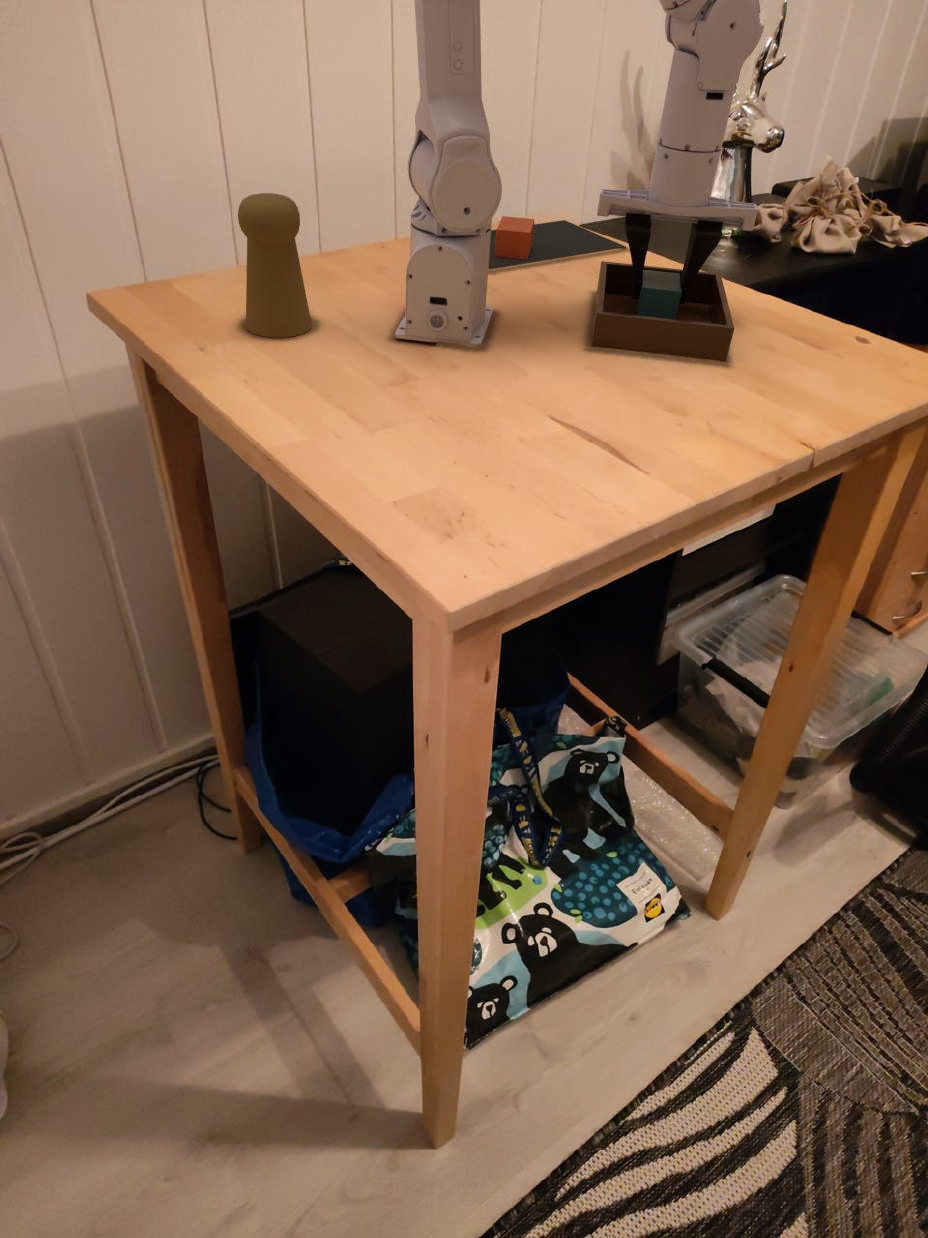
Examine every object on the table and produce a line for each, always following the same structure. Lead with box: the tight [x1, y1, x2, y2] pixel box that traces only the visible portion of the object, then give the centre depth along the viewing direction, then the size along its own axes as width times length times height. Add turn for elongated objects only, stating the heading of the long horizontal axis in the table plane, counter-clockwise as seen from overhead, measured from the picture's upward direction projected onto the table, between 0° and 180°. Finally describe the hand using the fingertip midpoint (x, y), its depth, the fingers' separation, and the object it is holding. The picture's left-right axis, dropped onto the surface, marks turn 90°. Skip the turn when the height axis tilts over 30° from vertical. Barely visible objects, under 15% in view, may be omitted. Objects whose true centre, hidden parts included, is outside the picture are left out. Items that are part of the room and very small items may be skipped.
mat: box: [488, 219, 627, 270], centre depth 100 cm, size 12×20×1 cm, turn 123°
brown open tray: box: [590, 260, 735, 362], centre depth 81 cm, size 15×12×3 cm
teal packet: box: [637, 270, 682, 320], centre depth 83 cm, size 6×4×3 cm
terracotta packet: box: [495, 215, 535, 260], centre depth 96 cm, size 6×4×3 cm
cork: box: [237, 192, 313, 339], centre depth 74 cm, size 6×6×11 cm
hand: (658, 298), depth 84 cm, fingers closed on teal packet, 4 cm apart
